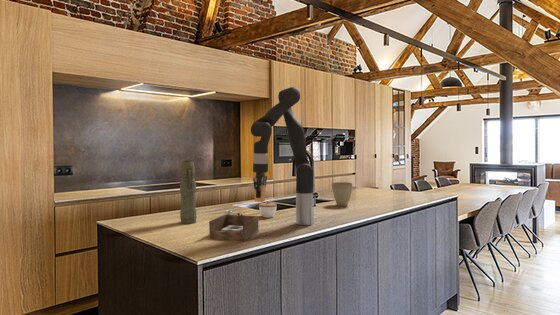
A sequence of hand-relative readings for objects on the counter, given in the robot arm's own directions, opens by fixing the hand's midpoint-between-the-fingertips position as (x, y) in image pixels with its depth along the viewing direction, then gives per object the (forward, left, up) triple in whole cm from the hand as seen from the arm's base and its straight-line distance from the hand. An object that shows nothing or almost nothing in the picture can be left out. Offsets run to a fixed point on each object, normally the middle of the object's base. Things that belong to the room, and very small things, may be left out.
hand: (260, 196), depth 188 cm
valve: (+22, -17, -18) cm, 33 cm away
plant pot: (-29, -94, -18) cm, 100 cm away
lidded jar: (+9, -40, -18) cm, 45 cm away
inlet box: (+10, +8, -18) cm, 22 cm away
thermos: (+47, -12, -18) cm, 52 cm away
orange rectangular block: (0, 0, -2) cm, 2 cm away
